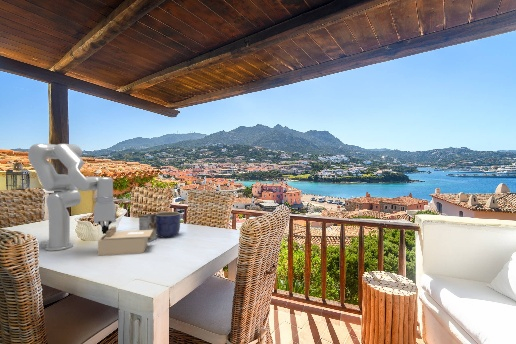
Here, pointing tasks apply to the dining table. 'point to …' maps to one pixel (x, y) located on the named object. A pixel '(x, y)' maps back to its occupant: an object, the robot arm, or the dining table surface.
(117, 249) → the box
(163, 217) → the planter
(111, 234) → the lid
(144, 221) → the coffee box
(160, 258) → the dining table surface
